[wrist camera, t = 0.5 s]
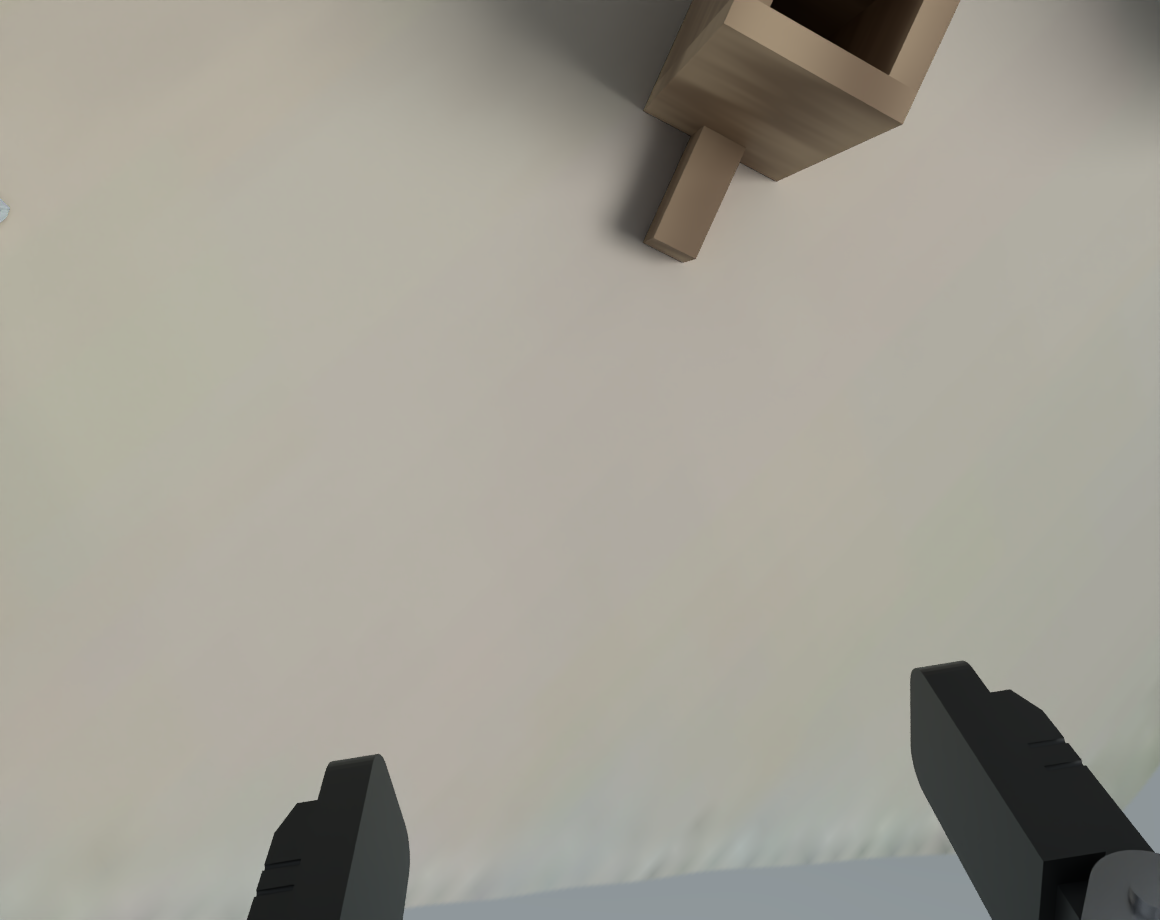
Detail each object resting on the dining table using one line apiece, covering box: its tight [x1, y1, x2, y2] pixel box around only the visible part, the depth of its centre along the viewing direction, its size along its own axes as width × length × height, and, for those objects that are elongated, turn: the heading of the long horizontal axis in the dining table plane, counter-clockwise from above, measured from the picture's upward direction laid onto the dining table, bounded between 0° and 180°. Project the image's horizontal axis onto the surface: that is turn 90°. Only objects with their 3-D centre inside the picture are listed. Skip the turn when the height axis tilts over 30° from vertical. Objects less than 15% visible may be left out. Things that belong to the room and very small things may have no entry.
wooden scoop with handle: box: [643, 0, 960, 263], centre depth 31 cm, size 6×10×10 cm, turn 155°
